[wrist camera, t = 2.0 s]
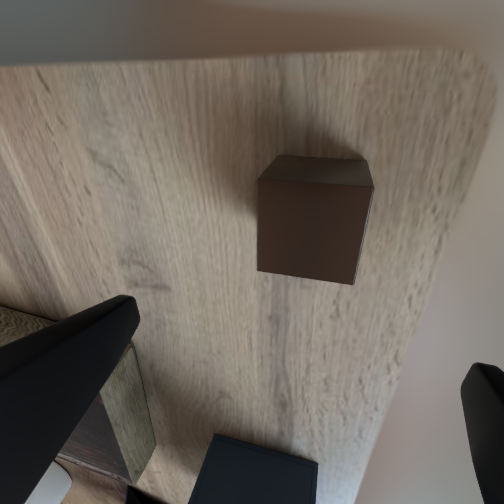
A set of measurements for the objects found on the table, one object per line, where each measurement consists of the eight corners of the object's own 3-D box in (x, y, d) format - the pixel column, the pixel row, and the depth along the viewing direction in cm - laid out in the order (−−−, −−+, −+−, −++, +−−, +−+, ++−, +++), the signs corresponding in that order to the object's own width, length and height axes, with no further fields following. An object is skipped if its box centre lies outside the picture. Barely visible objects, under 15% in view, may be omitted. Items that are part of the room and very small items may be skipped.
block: (367, 159, 15) (375, 187, 11) (352, 240, 17) (354, 285, 13) (278, 154, 16) (256, 178, 12) (275, 231, 18) (256, 271, 14)
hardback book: (-24, 381, 43) (-64, 414, 38) (-94, 276, 33) (-158, 304, 29) (156, 445, 37) (132, 492, 33) (135, 341, 27) (98, 388, 23)
